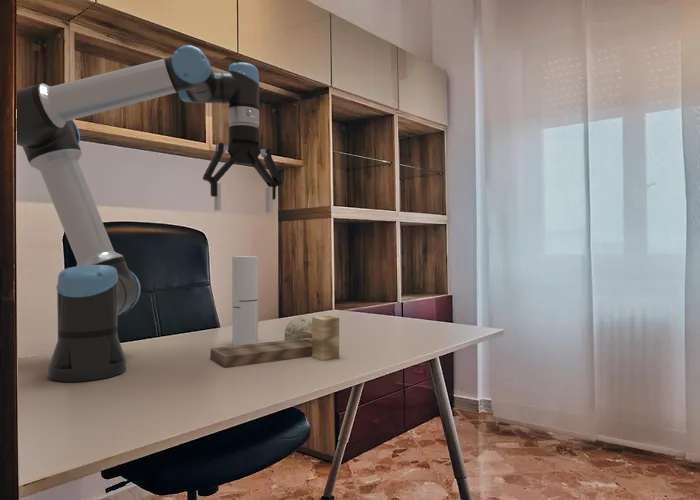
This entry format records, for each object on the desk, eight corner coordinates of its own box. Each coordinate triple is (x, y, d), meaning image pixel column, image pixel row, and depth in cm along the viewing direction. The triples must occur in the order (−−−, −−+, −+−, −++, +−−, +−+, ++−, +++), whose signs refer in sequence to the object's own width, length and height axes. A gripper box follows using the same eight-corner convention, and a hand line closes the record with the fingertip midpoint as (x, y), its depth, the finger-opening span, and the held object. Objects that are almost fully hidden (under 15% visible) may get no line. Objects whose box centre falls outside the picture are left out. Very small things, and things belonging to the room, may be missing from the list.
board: (225, 367, 116) (225, 356, 116) (210, 358, 125) (210, 348, 125) (336, 352, 132) (336, 342, 132) (316, 345, 141) (316, 336, 141)
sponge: (317, 356, 146) (320, 325, 152) (312, 342, 138) (316, 310, 144) (285, 355, 147) (290, 324, 153) (279, 341, 139) (284, 309, 145)
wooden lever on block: (321, 360, 123) (321, 319, 123) (296, 350, 135) (296, 313, 135) (339, 358, 126) (339, 318, 126) (312, 348, 138) (312, 311, 137)
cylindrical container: (255, 346, 140) (255, 256, 140) (229, 346, 140) (229, 256, 140) (260, 341, 147) (260, 256, 147) (235, 341, 147) (235, 256, 147)
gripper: (198, 117, 117) (198, 208, 117) (295, 130, 131) (295, 212, 131) (189, 123, 123) (190, 210, 124) (282, 135, 137) (282, 213, 137)
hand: (244, 211), depth 127 cm, fingers open, 13 cm apart
